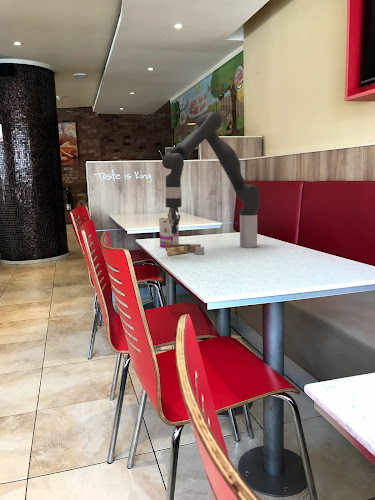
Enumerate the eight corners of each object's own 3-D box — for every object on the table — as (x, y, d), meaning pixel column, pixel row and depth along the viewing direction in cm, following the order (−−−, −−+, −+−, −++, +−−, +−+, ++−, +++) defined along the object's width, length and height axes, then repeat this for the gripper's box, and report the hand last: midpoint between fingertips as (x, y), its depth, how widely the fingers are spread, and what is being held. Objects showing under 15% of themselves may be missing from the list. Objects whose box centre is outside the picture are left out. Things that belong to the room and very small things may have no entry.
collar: (196, 253, 213) (196, 246, 213) (204, 253, 213) (204, 246, 212) (195, 255, 209) (195, 248, 209) (203, 255, 209) (203, 248, 208)
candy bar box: (179, 247, 233) (178, 217, 230) (172, 249, 229) (171, 218, 227) (166, 246, 241) (165, 216, 238) (159, 247, 238) (158, 217, 235)
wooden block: (166, 250, 224) (166, 242, 223) (200, 250, 221) (200, 242, 220) (163, 253, 216) (163, 244, 216) (199, 253, 214) (199, 244, 213)
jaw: (184, 252, 216) (184, 246, 215) (187, 252, 214) (187, 246, 213) (166, 254, 209) (166, 248, 209) (169, 255, 207) (169, 248, 207)
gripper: (161, 196, 205) (162, 232, 208) (169, 197, 193) (170, 235, 195) (176, 196, 208) (177, 232, 210) (185, 197, 195) (186, 234, 198)
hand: (174, 233), depth 203 cm, fingers closed
